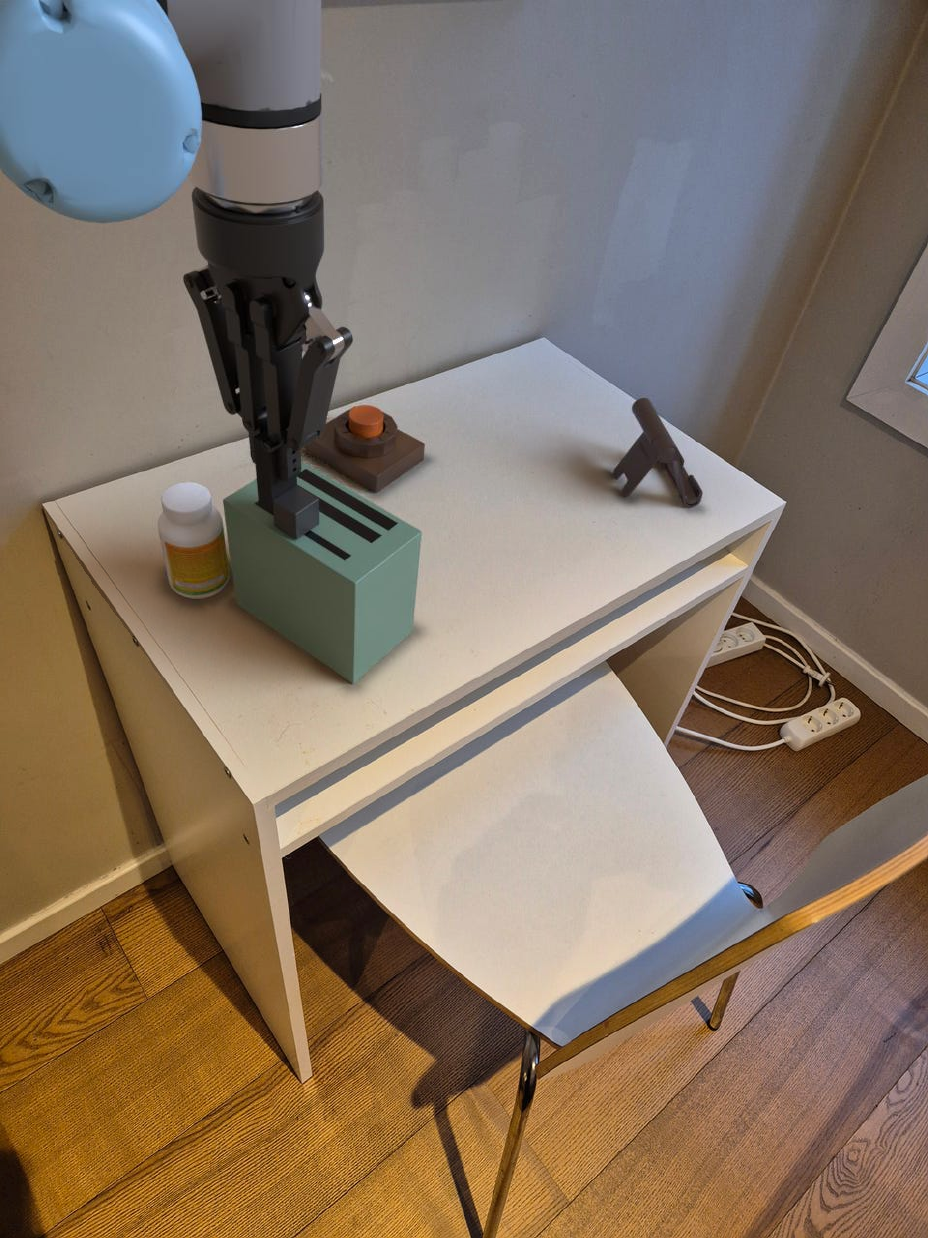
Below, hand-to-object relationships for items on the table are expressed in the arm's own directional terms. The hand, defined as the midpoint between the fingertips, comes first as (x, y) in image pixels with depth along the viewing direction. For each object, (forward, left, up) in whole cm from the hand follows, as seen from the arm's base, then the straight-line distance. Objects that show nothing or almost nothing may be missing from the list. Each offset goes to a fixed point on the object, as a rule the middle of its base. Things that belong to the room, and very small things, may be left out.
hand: (278, 502), depth 67 cm
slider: (+2, 0, -1) cm, 2 cm away
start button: (-11, +23, -10) cm, 27 cm away
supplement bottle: (-9, -2, -13) cm, 16 cm away
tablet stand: (+16, +41, -14) cm, 46 cm away
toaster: (+2, +2, -13) cm, 14 cm away
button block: (-11, +23, -13) cm, 28 cm away
